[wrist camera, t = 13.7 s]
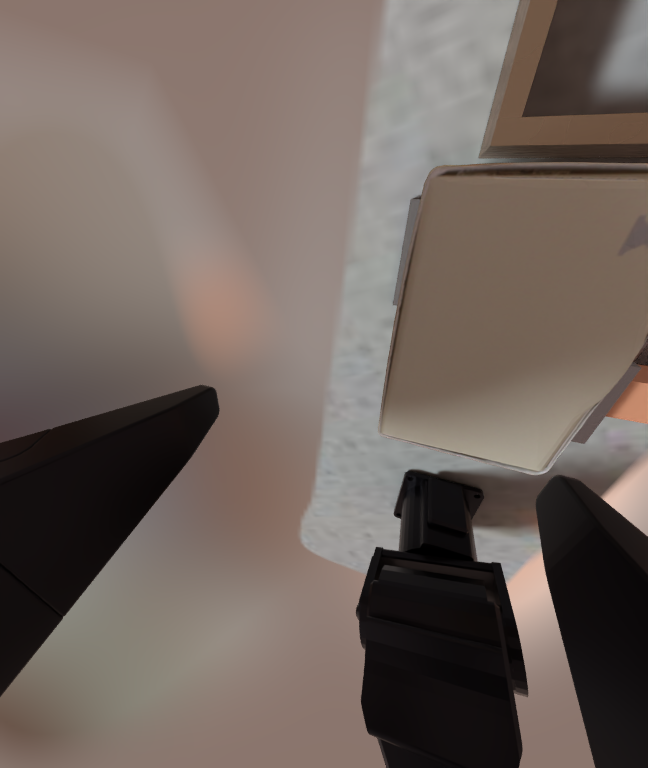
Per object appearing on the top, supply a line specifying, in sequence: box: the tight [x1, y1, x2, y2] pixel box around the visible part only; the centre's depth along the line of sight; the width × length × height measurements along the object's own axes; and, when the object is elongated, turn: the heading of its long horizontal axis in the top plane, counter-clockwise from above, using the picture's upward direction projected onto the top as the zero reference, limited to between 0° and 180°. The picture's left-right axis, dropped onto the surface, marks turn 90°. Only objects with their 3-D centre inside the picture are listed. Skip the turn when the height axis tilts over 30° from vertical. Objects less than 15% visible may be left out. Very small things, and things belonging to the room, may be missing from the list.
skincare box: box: [378, 162, 648, 475], centre depth 10 cm, size 6×4×12 cm
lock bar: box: [606, 364, 648, 424], centre depth 15 cm, size 3×9×4 cm, turn 88°
